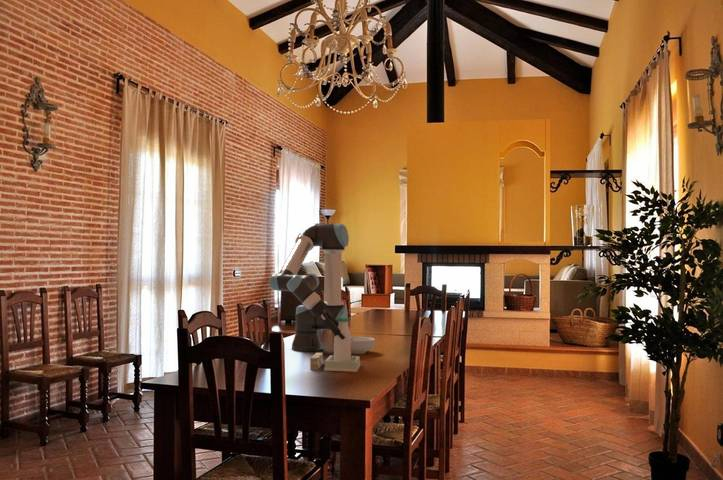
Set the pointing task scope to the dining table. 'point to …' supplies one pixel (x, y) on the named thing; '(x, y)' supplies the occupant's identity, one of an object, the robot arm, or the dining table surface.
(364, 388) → the dining table surface
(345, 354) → the milk bottle
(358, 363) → the cradle
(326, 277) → the robot arm
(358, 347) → the cereal bowl
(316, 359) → the board
